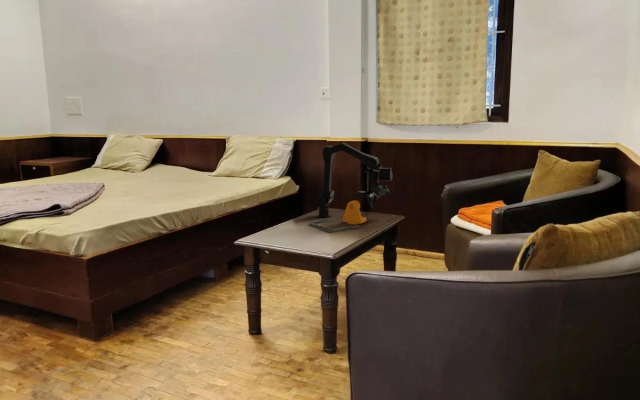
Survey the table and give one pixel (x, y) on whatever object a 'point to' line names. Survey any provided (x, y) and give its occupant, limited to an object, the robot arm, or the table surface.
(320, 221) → the rail bay
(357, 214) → the bracket
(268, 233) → the table surface
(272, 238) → the table surface
